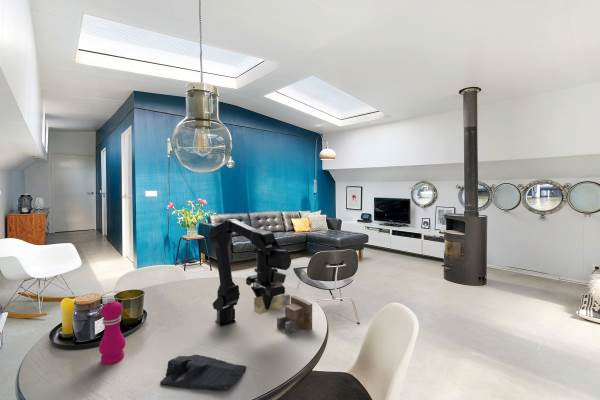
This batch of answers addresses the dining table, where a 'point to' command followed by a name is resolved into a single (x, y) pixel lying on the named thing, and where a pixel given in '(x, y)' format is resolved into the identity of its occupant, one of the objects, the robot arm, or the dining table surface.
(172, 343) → the dining table surface
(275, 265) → the robot arm
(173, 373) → the dark slate chunk
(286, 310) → the brown boxy piece
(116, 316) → the pepper mill
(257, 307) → the tan oblong piece
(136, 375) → the dining table surface
